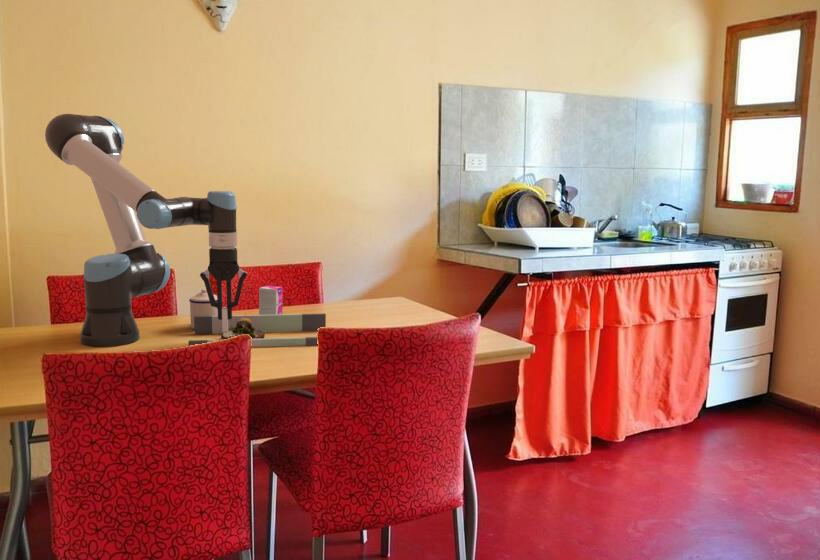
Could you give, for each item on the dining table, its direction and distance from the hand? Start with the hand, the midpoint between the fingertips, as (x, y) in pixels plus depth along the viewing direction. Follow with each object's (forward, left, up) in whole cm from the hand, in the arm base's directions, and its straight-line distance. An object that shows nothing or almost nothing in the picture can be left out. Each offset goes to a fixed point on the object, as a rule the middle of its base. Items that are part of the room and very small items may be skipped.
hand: (225, 330), depth 202 cm
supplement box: (+13, +20, -3) cm, 24 cm away
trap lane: (+10, 0, -3) cm, 10 cm away
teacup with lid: (-7, +18, -3) cm, 20 cm away
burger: (+5, 0, -3) cm, 6 cm away
